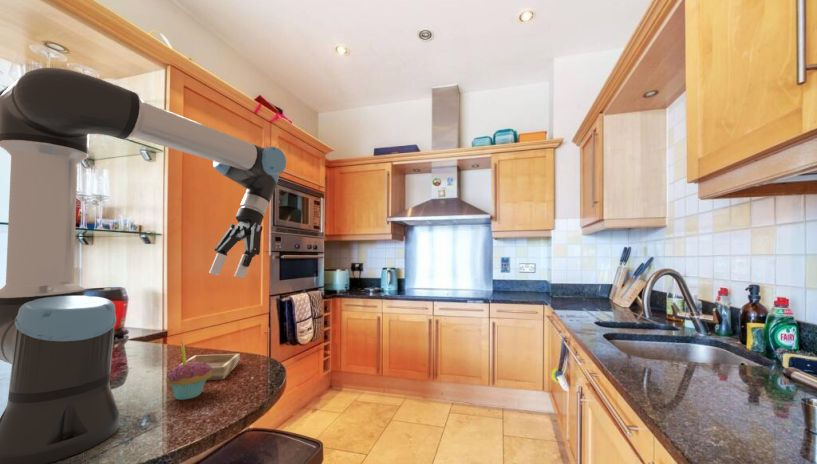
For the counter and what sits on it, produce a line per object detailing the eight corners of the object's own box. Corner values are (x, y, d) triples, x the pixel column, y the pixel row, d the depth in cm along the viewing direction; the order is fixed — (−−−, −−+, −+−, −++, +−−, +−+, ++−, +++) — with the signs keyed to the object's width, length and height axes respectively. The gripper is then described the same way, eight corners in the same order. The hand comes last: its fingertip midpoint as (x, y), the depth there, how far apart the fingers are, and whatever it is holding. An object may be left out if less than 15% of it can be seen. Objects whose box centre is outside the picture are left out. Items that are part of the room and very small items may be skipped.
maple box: (223, 379, 81) (224, 367, 82) (170, 381, 79) (171, 369, 80) (239, 364, 93) (240, 353, 94) (194, 366, 91) (194, 355, 91)
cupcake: (176, 407, 66) (180, 347, 67) (156, 397, 70) (160, 341, 71) (218, 392, 74) (221, 338, 75) (198, 384, 78) (201, 334, 79)
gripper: (286, 215, 98) (262, 282, 91) (240, 217, 111) (215, 276, 104) (266, 203, 92) (238, 274, 85) (219, 207, 106) (192, 269, 98)
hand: (225, 275), depth 95 cm, fingers open, 13 cm apart
